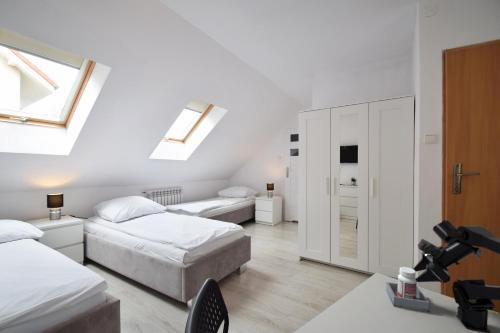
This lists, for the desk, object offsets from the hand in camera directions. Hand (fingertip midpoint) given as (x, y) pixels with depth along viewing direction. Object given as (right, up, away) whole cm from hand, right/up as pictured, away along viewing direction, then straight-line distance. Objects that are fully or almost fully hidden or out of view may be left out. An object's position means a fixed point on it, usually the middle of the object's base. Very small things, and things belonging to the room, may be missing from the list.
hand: (414, 275), depth 92 cm
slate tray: (-2, -11, +2) cm, 11 cm away
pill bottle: (-2, -10, +2) cm, 10 cm away
